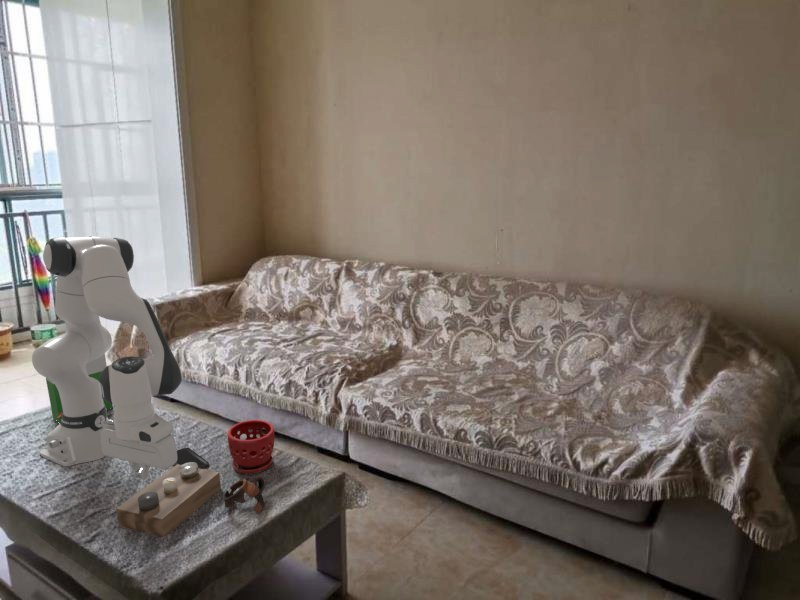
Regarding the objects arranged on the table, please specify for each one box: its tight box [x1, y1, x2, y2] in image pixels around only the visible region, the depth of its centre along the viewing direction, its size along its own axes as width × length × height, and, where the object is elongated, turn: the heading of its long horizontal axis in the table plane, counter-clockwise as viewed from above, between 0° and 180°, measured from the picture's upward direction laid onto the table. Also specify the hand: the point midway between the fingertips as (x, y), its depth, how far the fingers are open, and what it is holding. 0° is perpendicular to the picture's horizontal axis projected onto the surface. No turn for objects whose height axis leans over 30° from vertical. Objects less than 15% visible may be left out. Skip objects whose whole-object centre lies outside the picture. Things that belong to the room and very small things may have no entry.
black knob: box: [138, 492, 159, 511], centre depth 143 cm, size 5×5×7 cm
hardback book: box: [45, 353, 114, 424], centre depth 205 cm, size 18×7×24 cm, turn 137°
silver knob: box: [180, 462, 199, 479], centre depth 156 cm, size 5×5×7 cm
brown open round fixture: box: [222, 475, 266, 515], centre depth 150 cm, size 12×10×8 cm
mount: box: [115, 464, 222, 538], centre depth 150 cm, size 14×22×5 cm, turn 161°
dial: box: [163, 478, 177, 493], centre depth 149 cm, size 3×3×3 cm
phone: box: [172, 447, 210, 469], centre depth 173 cm, size 8×1×15 cm
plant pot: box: [227, 419, 275, 475], centre depth 168 cm, size 13×13×12 cm
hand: (141, 477), depth 140 cm, fingers closed
